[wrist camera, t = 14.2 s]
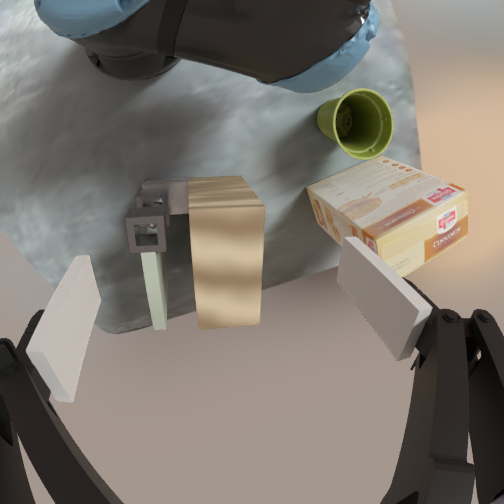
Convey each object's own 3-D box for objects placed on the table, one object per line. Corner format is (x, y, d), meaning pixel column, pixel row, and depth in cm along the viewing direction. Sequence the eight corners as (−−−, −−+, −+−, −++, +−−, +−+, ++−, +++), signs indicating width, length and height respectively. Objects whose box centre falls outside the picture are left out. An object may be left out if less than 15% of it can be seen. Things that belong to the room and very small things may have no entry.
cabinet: (144, 180, 39) (126, 213, 27) (241, 174, 41) (265, 204, 29) (155, 274, 46) (148, 333, 34) (240, 267, 48) (259, 323, 36)
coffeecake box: (316, 224, 48) (381, 291, 31) (304, 185, 44) (374, 239, 27) (389, 191, 48) (468, 238, 31) (381, 154, 44) (469, 188, 27)
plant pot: (363, 95, 39) (396, 96, 31) (357, 151, 43) (389, 163, 36) (308, 85, 37) (335, 82, 30) (303, 146, 41) (329, 156, 34)
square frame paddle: (139, 190, 36) (125, 218, 28) (169, 188, 37) (163, 215, 29) (150, 286, 43) (144, 330, 35) (176, 284, 44) (175, 329, 36)
